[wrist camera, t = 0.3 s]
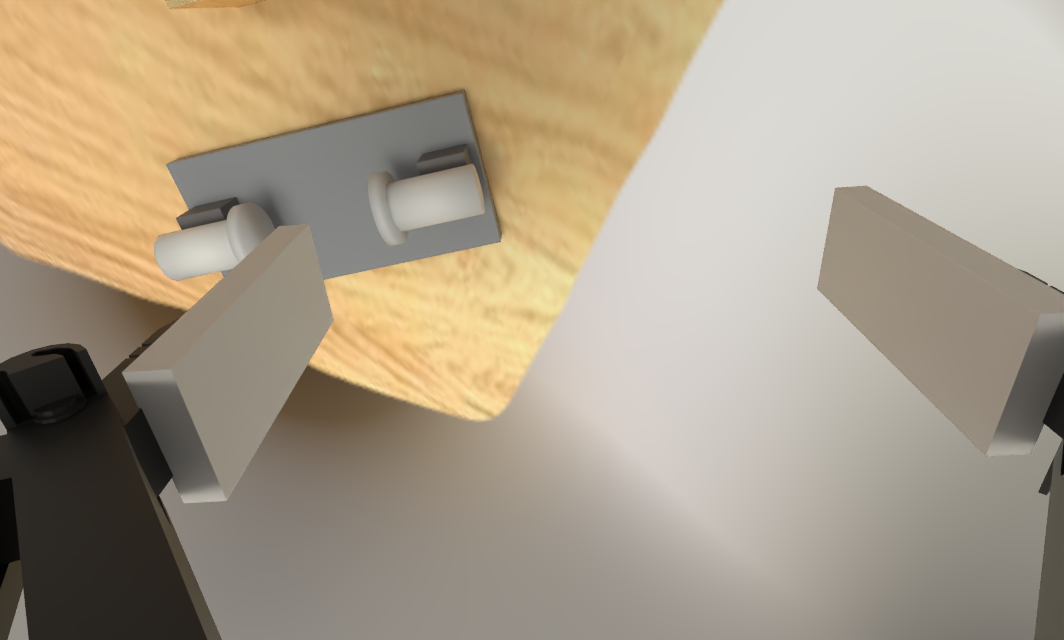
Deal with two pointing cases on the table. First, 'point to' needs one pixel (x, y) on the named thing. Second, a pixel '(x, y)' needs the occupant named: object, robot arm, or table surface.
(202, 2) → the coupler
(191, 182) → the grey rod holder
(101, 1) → the table surface
